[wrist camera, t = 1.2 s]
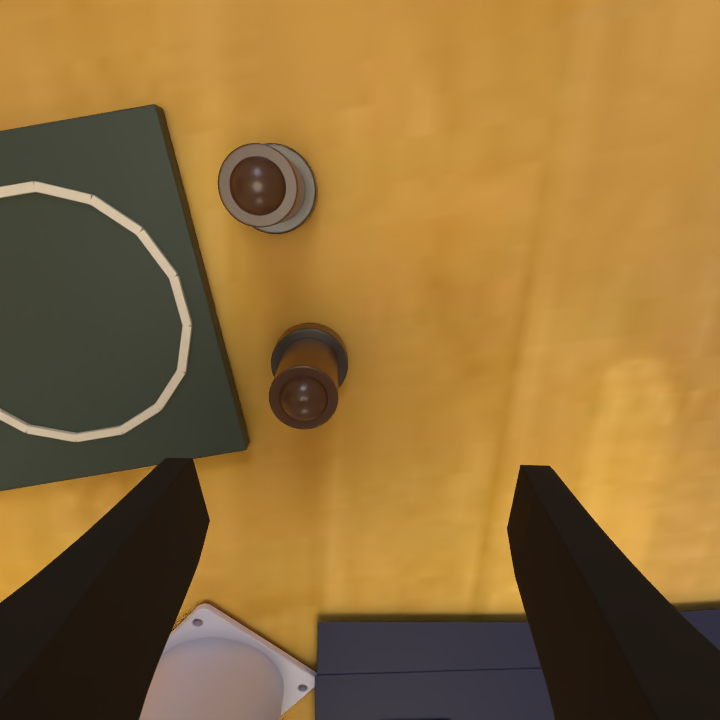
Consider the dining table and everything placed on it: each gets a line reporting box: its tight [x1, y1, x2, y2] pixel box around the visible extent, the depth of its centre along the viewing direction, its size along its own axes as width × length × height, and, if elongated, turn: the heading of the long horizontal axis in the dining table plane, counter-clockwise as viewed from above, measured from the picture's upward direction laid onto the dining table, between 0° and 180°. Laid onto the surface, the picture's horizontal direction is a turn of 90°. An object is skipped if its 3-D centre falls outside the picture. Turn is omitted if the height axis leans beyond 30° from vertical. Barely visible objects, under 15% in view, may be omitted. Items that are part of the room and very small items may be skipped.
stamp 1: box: [218, 143, 317, 234], centre depth 16 cm, size 3×3×5 cm
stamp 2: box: [269, 323, 348, 429], centre depth 19 cm, size 3×3×5 cm
